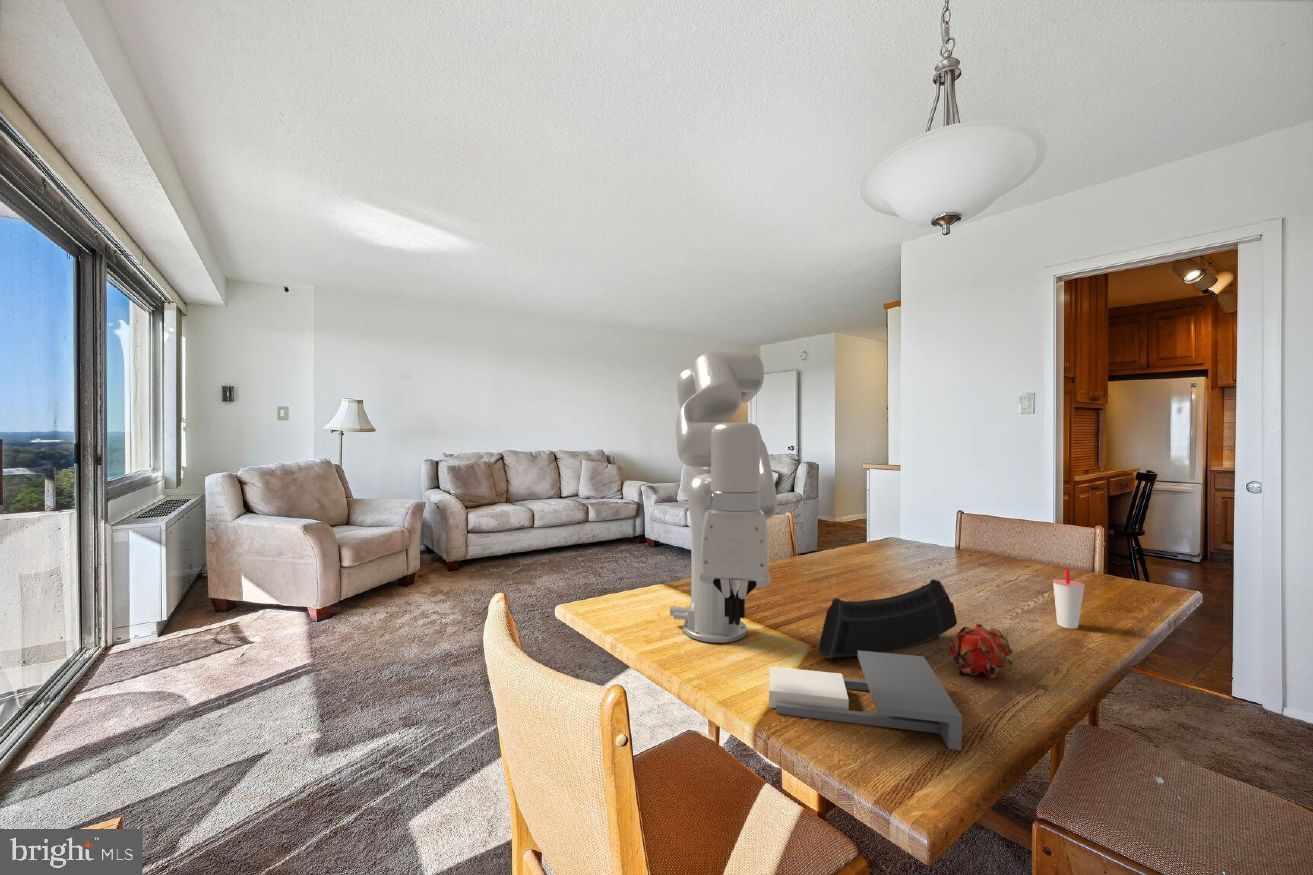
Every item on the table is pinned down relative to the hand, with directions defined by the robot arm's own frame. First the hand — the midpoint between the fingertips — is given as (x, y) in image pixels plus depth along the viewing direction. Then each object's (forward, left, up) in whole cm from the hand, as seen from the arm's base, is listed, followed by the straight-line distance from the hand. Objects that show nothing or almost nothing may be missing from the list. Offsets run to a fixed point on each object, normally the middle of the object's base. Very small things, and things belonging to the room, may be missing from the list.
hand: (734, 621), depth 82 cm
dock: (+18, +1, -11) cm, 21 cm away
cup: (+65, +44, -11) cm, 79 cm away
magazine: (+27, +24, -11) cm, 38 cm away
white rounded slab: (+11, +1, -11) cm, 15 cm away
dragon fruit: (+39, +16, -11) cm, 44 cm away
